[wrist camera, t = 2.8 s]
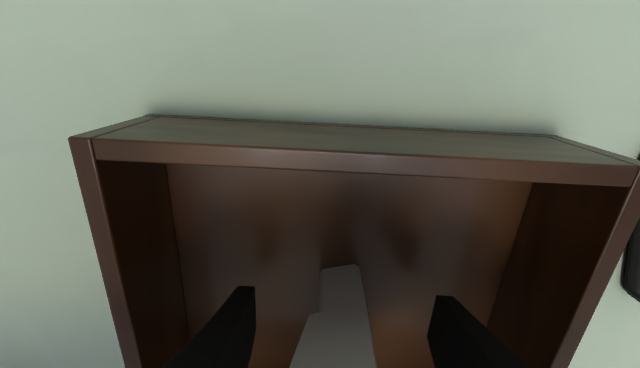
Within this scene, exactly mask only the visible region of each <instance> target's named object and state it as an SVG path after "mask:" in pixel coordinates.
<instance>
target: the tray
mask: <svg viewBox="0 0 640 368" xmlns="http://www.w3.org/2000/svg"><path fill="white" fill-rule="evenodd" d="M68 141H69V145H70V149H71V153H72V157H73V161H74V165H75V169H76V173H77V177H78V181H79V185H80V189H81V193H82V197H83V201H84V205H85V209H86V213H87V217H88V221H89V225H90V229H91V233H92V237H93V241H94V245H95V249H96V253H97V257H98V261H99V265H100V269H101V273H102V277H103V281H104V285H105V289H106V293H107V297H108V301H109V305H110V309H111V313H112V317H113V321H114V325H115V329H116V333H117V336H118V340H119V344H120V348H121V352H122V356H123V360H124V364H125V368H162V367H163V366H164V365H165V364H166V363H167V362H168V361H170V360H171V359H172V358H173V357H174V356H175V355H176V354H177V353H178V352H179V351H180V350H181V349H182V348H183V347H184V346H185V345H186V344H187V343H188V342H189V341H190V340H191V339H192V338H193V337H194V336H195V335H196V334H197V333H198V332H199V331H200V330H201V329H202V328H203V327H204V325H205V324H206V323H207V322H208V321H209V320H210V319H211V318H212V316H213V315H214V314H215V313H216V312H217V311H218V310H219V308H220V307H221V306H222V305H223V304H224V302H225V301H226V300H227V299H228V297H229V296H230V295H231V294H232V292H233V291H234V290H235V288H236V287H238V286H255V300H256V333H255V338H254V344H253V349H252V353H251V358H250V361H249V364H248V368H289V367H290V364H291V362H292V359H293V356H294V354H295V351H296V348H297V346H298V343H299V340H300V338H301V335H302V332H303V330H304V327H305V324H306V322H307V319H308V316H309V315H311V314H314V313H317V312H319V279H320V272H321V271H322V269H326V268H333V267H339V266H345V265H352V264H355V265H357V266H359V269H360V274H361V280H362V285H363V291H364V296H365V302H366V307H367V312H368V318H369V323H370V329H371V334H372V340H373V345H374V351H375V357H376V362H377V368H435V366H434V363H433V359H432V355H431V352H430V348H429V344H428V340H427V333H428V328H429V324H430V320H431V316H432V311H433V307H434V303H435V298H436V295H445V296H453V297H454V298H455V299H457V300H458V301H459V302H460V303H461V304H462V305H463V306H464V307H465V308H466V309H467V310H468V311H469V312H470V313H471V314H472V315H473V316H474V317H476V318H477V319H478V320H479V321H480V322H481V323H482V324H483V325H484V326H485V327H486V328H487V329H488V330H489V331H490V332H491V333H492V334H494V335H495V336H496V337H497V338H498V339H499V340H500V341H501V342H502V343H503V344H505V345H506V346H507V347H508V348H509V349H510V350H511V351H512V352H514V353H515V354H516V355H517V356H518V357H520V358H521V359H522V360H523V361H524V362H525V363H527V364H528V365H529V366H530V367H531V368H568V366H569V364H570V362H571V360H572V358H573V356H574V353H575V351H576V349H577V347H578V345H579V343H580V341H581V339H582V337H583V335H584V332H585V330H586V328H587V326H588V324H589V322H590V320H591V318H592V316H593V314H594V312H595V309H596V307H597V305H598V303H599V301H600V299H601V297H602V295H603V293H604V291H605V288H606V286H607V284H608V282H609V280H610V278H611V276H612V274H613V272H614V270H615V267H616V265H617V263H618V261H619V259H620V257H621V255H622V253H623V251H624V249H625V247H626V244H627V242H628V240H629V238H630V236H631V234H632V232H633V230H634V228H635V226H636V223H637V221H638V219H639V217H640V161H639V160H636V159H632V158H629V157H626V156H622V155H619V154H616V153H612V152H609V151H606V150H602V149H599V148H596V147H592V146H589V145H586V144H582V143H579V142H576V141H572V140H569V139H566V138H562V137H559V136H556V135H537V134H518V133H499V132H480V131H460V130H441V129H422V128H403V127H384V126H364V125H345V124H326V123H307V122H287V121H268V120H249V119H230V118H211V117H191V116H172V115H153V114H149V115H145V116H142V117H139V118H135V119H132V120H128V121H124V122H121V123H117V124H114V125H110V126H107V127H103V128H99V129H96V130H92V131H89V132H85V133H82V134H78V135H74V136H71V137H69V138H68Z"/></svg>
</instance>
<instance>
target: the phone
mask: <svg viewBox="0 0 640 368" xmlns="http://www.w3.org/2000/svg"><path fill="white" fill-rule="evenodd" d="M624 288H625V290H626V291H627V293H628V294H629V295H631V296H632V297H633V298H635V299H636V300H637V301H639V302H640V217H639V219H638V221H637V223H636V226H635V228H634V230H633V232H632V234H631V236H630V240H629V248H628V255H627V263H626V270H625V278H624Z"/></svg>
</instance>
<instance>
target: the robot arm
mask: <svg viewBox="0 0 640 368" xmlns="http://www.w3.org/2000/svg"><path fill="white" fill-rule="evenodd" d="M255 333H256V300H255V286H238V287H236V288H235V290H234V291H233V292H232V294H231V295H230V296H229V297H228V299H227V300H226V301H225V302H224V304H223V305H222V306H221V307H220V308H219V310H218V311H217V312H216V313H215V314H214V315H213V316H212V318H211V319H210V320H209V321H208V322H207V323H206V324H205V325H204V327H203V328H202V329H201V330H200V331H199V332H198V333H197V334H196V335H195V336H194V337H193V338H192V339H191V340H190V341H189V342H188V343H187V344H186V345H185V346H184V347H183V348H182V349H181V350H180V351H179V352H178V353H177V354H176V355H175V356H174V357H173V358H172V359H171V360H170V361H168V362H167V363H166V364H165V365H164V366H163V367H162V368H248V364H249V361H250V358H251V353H252V349H253V344H254V338H255ZM427 340H428V344H429V348H430V352H431V355H432V359H433V363H434V366H435V368H531V367H530V366H529V365H528V364H527V363H525V362H524V361H523V360H522V359H521V358H520V357H518V356H517V355H516V354H515V353H514V352H512V351H511V350H510V349H509V348H508V347H507V346H506V345H505V344H503V343H502V342H501V341H500V340H499V339H498V338H497V337H496V336H495V335H494V334H492V333H491V332H490V331H489V330H488V329H487V328H486V327H485V326H484V325H483V324H482V323H481V322H480V321H479V320H478V319H477V318H476V317H474V316H473V315H472V314H471V313H470V312H469V311H468V310H467V309H466V308H465V307H464V306H463V305H462V304H461V303H460V302H459V301H458V300H457V299H455V298H454V297H453V296H445V295H436V298H435V303H434V307H433V311H432V316H431V320H430V324H429V328H428V333H427Z"/></svg>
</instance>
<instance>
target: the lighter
mask: <svg viewBox="0 0 640 368" xmlns="http://www.w3.org/2000/svg"><path fill="white" fill-rule="evenodd" d="M289 368H377V362H376V357H375V351H374V345H373V340H372V334H371V329H370V323H369V318H368V312H367V307H366V302H365V296H364V291H363V285H362V280H361V274H360V269H359V266H357V265H355V264H352V265H345V266H339V267H333V268H326V269H322V271H321V272H320V279H319V312H317V313H314V314H311V315H309V316H308V319H307V322H306V324H305V327H304V330H303V332H302V335H301V338H300V340H299V343H298V346H297V348H296V351H295V354H294V356H293V359H292V362H291V364H290V367H289Z"/></svg>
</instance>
